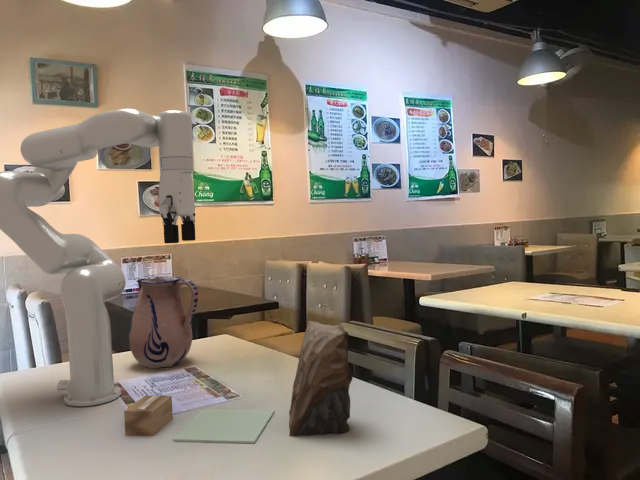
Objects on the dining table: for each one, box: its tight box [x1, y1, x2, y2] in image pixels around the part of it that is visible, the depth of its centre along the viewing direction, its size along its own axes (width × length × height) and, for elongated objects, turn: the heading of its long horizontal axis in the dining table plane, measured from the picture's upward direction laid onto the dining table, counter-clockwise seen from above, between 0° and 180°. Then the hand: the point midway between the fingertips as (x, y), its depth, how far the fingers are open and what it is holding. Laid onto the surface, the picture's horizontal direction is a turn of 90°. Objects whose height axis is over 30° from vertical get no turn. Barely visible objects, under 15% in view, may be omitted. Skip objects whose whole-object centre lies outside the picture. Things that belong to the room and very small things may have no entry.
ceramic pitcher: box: [128, 276, 199, 369], centre depth 160 cm, size 18×21×25 cm
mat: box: [172, 408, 275, 444], centre depth 112 cm, size 16×16×1 cm
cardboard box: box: [123, 395, 174, 436], centre depth 113 cm, size 6×9×5 cm, turn 172°
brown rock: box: [288, 320, 354, 437], centre depth 110 cm, size 13×13×20 cm
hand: (180, 241), depth 127 cm, fingers open, 9 cm apart
